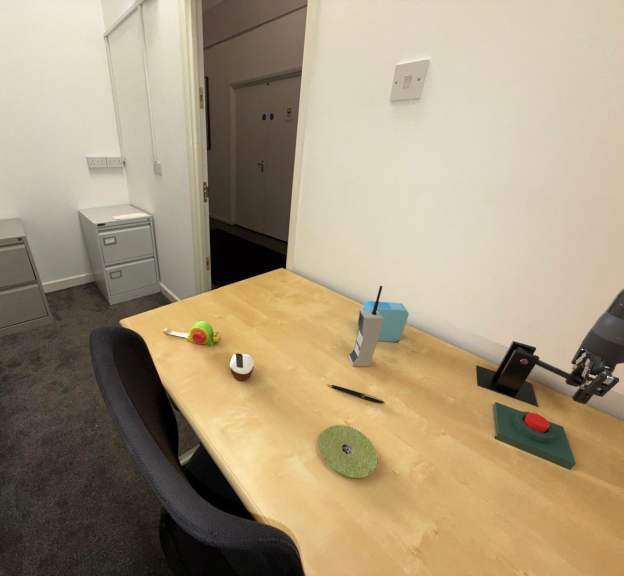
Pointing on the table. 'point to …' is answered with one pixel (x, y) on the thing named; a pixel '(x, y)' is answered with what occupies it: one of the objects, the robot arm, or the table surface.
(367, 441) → the green grinding wheel
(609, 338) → the robot arm
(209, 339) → the toy measuring tape
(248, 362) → the cupcake
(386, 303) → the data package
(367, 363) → the vintage mobile phone
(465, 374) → the table surface
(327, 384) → the fountain pen
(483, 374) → the switch bracket
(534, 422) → the button
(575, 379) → the switch lever
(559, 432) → the control block
